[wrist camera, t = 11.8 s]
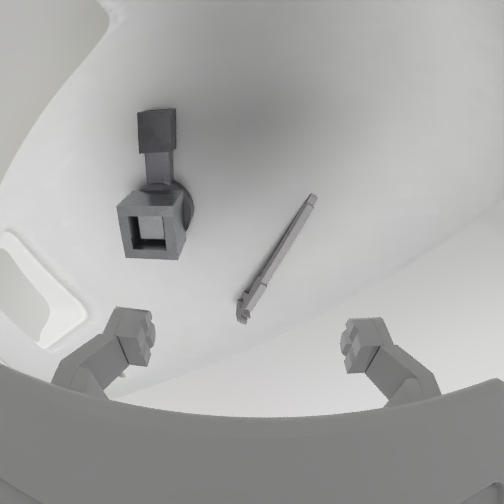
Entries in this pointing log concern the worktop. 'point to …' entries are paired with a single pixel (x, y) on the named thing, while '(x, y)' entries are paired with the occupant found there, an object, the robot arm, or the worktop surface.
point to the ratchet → (159, 165)
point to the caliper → (273, 263)
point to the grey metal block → (153, 205)
